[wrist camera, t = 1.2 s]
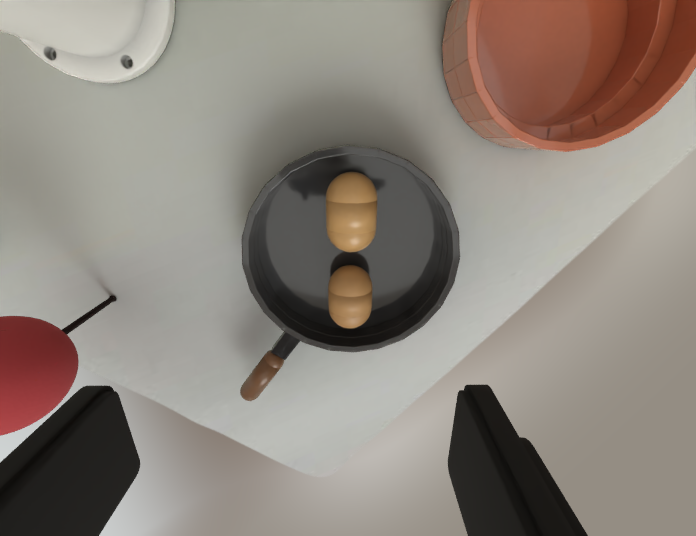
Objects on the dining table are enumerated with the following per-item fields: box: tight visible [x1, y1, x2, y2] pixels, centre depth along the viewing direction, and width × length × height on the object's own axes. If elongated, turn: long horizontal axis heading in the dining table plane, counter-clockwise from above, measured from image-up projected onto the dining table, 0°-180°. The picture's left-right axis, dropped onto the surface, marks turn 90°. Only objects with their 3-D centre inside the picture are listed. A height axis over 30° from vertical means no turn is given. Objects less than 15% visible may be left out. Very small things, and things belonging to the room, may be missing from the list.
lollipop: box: [0, 295, 116, 435], centre depth 26 cm, size 8×8×15 cm
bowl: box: [442, 0, 696, 152], centre depth 22 cm, size 15×15×6 cm
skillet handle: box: [240, 331, 300, 401], centre depth 32 cm, size 10×2×2 cm, turn 144°
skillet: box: [242, 145, 460, 352], centre depth 29 cm, size 18×18×4 cm
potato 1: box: [326, 172, 377, 252], centre depth 27 cm, size 7×4×4 cm, turn 179°
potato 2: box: [328, 265, 372, 328], centre depth 30 cm, size 6×4×4 cm, turn 0°
